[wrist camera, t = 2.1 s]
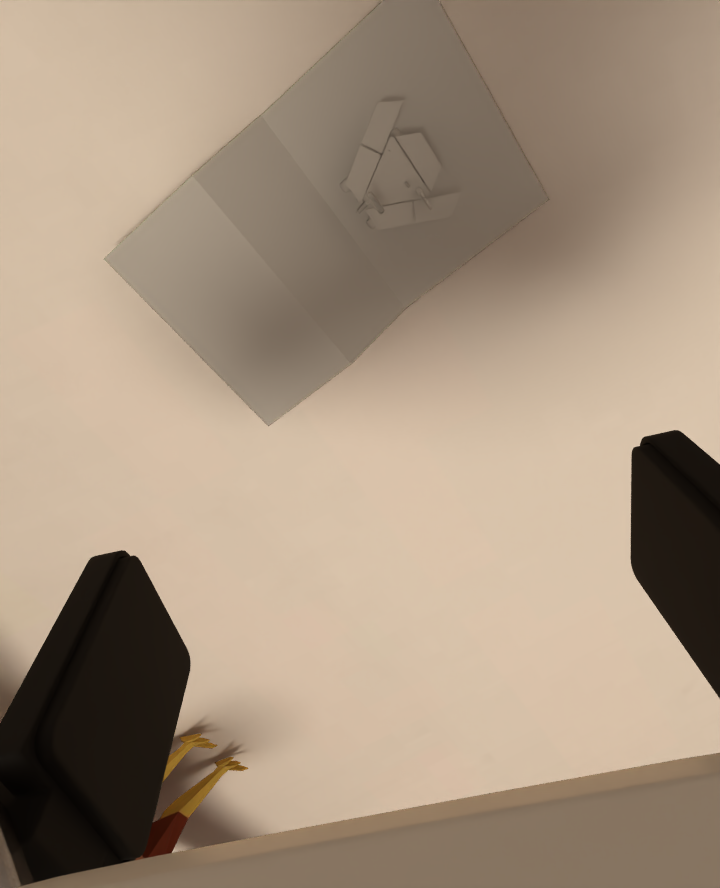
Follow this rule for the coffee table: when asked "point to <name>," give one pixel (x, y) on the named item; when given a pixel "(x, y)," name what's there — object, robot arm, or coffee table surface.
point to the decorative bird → (184, 799)
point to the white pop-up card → (334, 209)
